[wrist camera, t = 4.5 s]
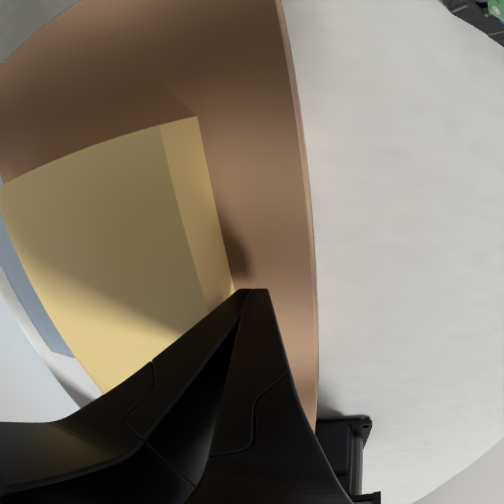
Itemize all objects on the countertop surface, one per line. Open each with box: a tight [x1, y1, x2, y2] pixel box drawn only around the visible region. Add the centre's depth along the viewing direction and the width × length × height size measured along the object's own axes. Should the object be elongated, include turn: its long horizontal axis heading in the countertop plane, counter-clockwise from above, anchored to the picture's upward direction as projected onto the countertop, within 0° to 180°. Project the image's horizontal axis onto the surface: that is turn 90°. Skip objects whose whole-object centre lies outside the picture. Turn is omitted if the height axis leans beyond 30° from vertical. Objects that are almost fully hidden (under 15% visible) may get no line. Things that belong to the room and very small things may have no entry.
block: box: [0, 116, 235, 394], centre depth 9 cm, size 10×7×2 cm
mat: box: [0, 175, 76, 358], centre depth 16 cm, size 22×12×1 cm, turn 9°
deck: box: [0, 0, 319, 433], centre depth 12 cm, size 20×12×4 cm, turn 9°
